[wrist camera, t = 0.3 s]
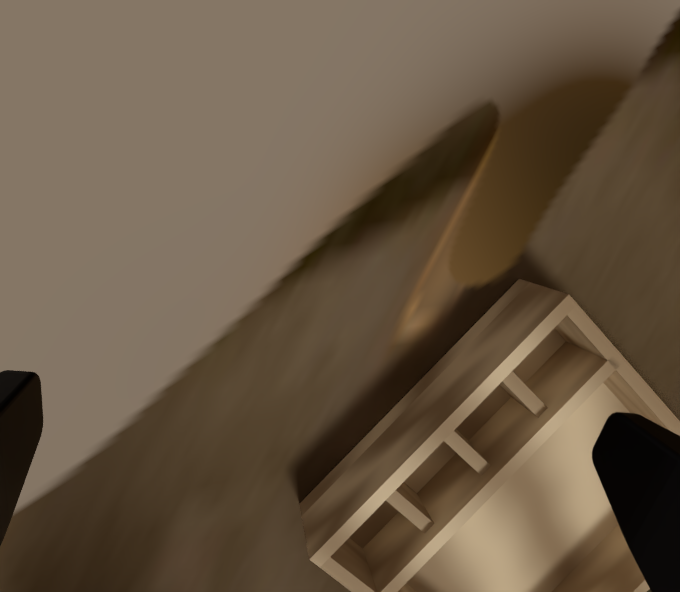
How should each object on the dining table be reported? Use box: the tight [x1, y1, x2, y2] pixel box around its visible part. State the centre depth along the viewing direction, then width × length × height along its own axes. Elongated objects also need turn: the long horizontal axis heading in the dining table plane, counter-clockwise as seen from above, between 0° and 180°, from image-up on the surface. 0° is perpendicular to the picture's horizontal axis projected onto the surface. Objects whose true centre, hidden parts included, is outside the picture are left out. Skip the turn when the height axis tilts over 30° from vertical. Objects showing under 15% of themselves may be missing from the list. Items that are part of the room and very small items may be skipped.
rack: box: [299, 279, 680, 592], centre depth 25 cm, size 15×14×4 cm
